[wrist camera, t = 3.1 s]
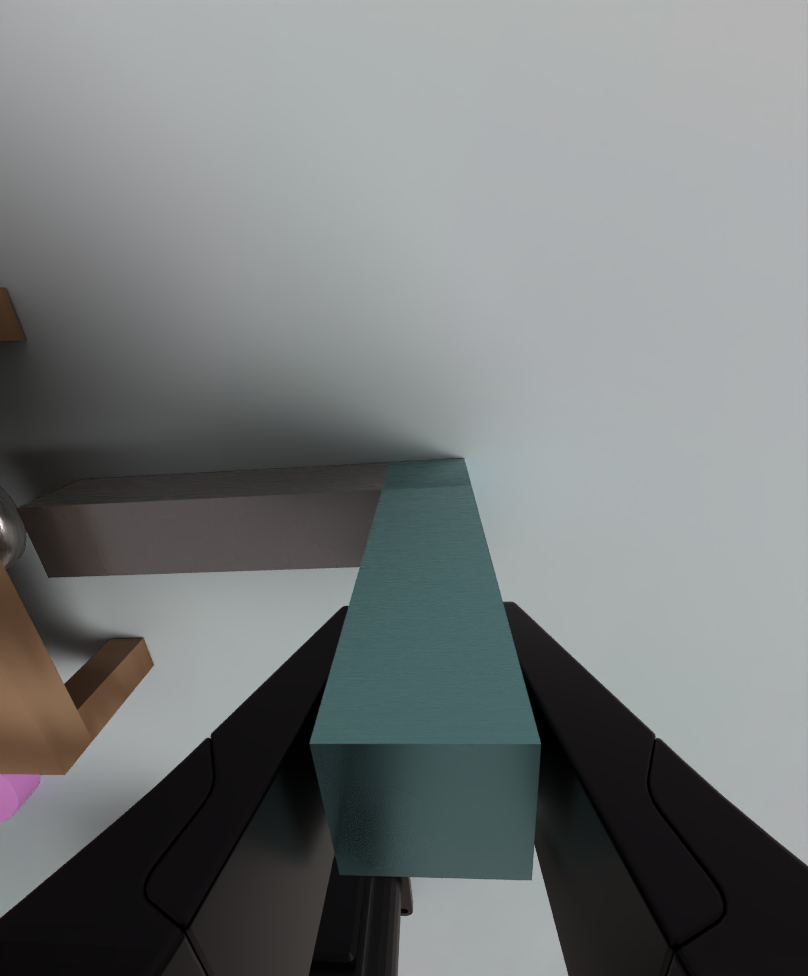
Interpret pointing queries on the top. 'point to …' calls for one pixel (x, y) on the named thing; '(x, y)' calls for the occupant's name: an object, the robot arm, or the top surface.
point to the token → (10, 531)
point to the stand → (53, 674)
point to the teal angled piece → (357, 641)
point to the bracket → (15, 792)
